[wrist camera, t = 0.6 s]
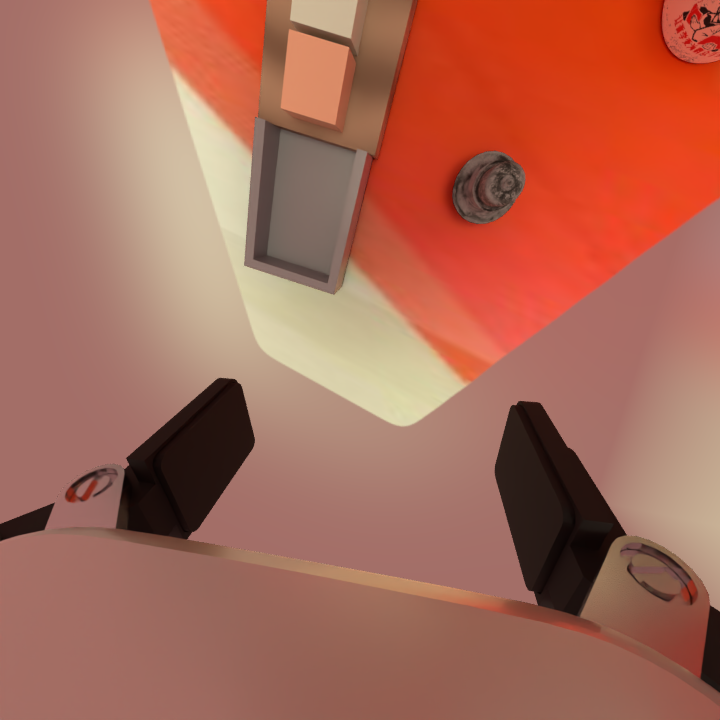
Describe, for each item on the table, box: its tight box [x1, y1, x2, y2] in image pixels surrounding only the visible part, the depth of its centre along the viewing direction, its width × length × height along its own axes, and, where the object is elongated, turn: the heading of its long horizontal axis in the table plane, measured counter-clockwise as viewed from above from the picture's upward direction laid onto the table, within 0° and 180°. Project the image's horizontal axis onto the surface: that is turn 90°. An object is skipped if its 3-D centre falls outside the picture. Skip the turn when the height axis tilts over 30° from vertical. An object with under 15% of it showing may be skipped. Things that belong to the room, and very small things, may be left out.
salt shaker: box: [452, 151, 525, 224], centre depth 25 cm, size 6×6×12 cm
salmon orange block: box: [281, 29, 356, 133], centre depth 26 cm, size 5×5×3 cm
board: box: [258, 0, 418, 159], centre depth 27 cm, size 12×12×2 cm
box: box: [244, 117, 373, 294], centre depth 33 cm, size 14×11×4 cm
